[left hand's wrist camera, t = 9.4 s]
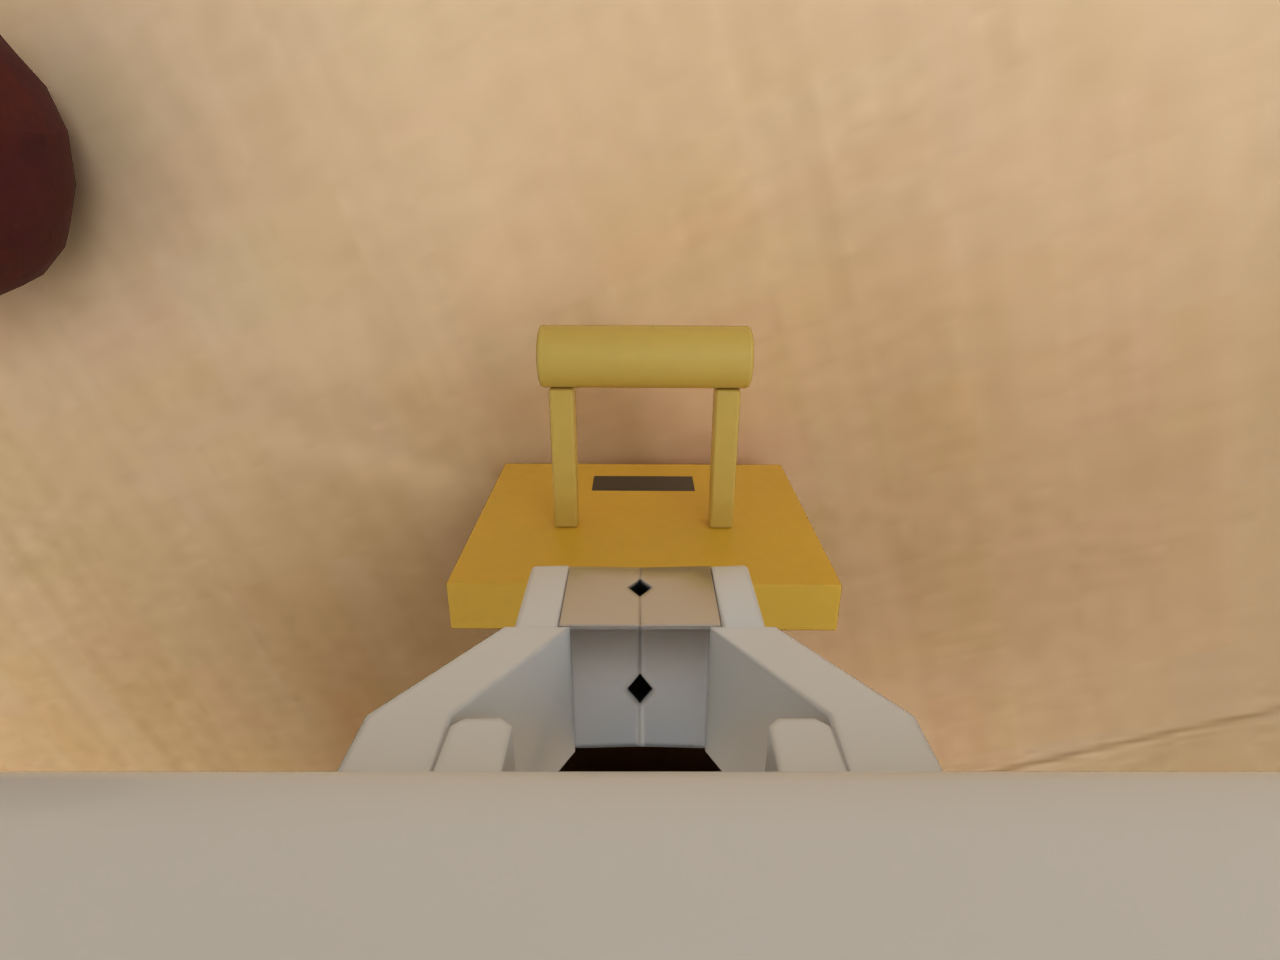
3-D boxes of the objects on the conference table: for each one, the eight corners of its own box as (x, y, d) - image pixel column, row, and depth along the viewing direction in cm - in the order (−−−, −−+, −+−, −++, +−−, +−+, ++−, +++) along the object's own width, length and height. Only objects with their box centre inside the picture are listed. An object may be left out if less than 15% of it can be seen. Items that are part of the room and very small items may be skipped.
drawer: (493, 298, 21) (419, 352, 14) (794, 300, 21) (872, 355, 14) (535, 893, 30) (503, 1106, 23) (744, 894, 30) (776, 1107, 23)
